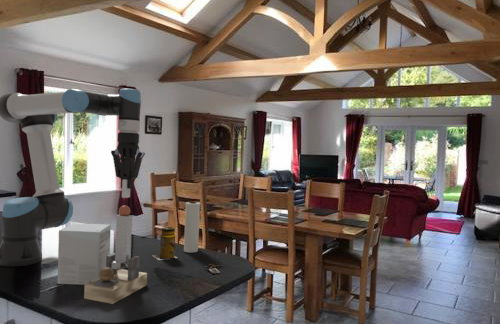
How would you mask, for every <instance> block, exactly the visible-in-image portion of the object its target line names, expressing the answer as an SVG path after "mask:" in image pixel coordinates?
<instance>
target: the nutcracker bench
mask: <svg viewBox="0 0 500 324" xmlns="http://www.w3.org/2000/svg"><path fill="white" fill-rule="evenodd" d="M113 261H115V252H113V253H111V254H110V255H108V256H106V267H105V268H103V269H102V270H101V271H100V279H97V280H95V281H93V282H91V283H88V284H86V285H83V286H84V293H83V298H84V300H91V301H95V302H100V303H106V304H111V305H113V304H115V303H117V302H119V301H121V300H123V299H124V298H126V297H128V296H130V295H132V294H133V293H136V292H137V291H139V290H140V289H142V288H144V287H146V286H147V285H148V273H147V272H142V271H140V256H138V255H135V256H132V257H131V258H130V259H128V267H127V269H125V268H124V269H121V270H118V269H112V262H113Z"/></svg>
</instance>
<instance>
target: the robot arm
mask: <svg viewBox="0 0 500 324" xmlns="http://www.w3.org/2000/svg"><path fill="white" fill-rule="evenodd" d="M141 95H142V94H141V91H140V90H138V89H134V88H120V90H119V93H118V94H105V93H101V92H94V91H87V90H82V89H78V88H69V89H67V90H66V91H59V92H57V91H56V92H48V93H35V94H24V93H23V94H22V93H20V92H12V93H11V92H10V93H5V94H3V95H1V96H0V118H2V119H3V120H5V121H6V122H8V123H12V124H13V123H14V124H20V127H21V131H22V132H24V133H25V134H26V137H27V144H28V150H29V157H30V163H31V170H32V175H33V182H34V188H35V193H34V194H33V195H32V196H24V197H17V198H13V199H12V198H11V199H9V200H6V202H4V204H3V207H2V213H1V216H2V224H1V225H2V227H1V228H2V229H1V231H2V233H1V236H2V237H1V243H0V266H1V267H10V268H11V267H12V268H13V267H25V266H30V265H31V266H32V265H34V264H37V263H38V264H39V263H40V262H42V260H43V253H42V250H41V247H40V244H39V241H38V232H39V231H42V230H47V229H53V228H58V227H62V226H64V225H66V224H67V223H69V222H70V220H71V218H72V217H73V213H74V205H73V202H72V200H70V198H69V197H66V196H65V191H64V190H62V189H61V188H60V186H59V179H58V171H57V166H56V160H55V155H54V154H55V153H54V148H53V143H52V136H51V135H52V134H51V131H52V129H53V128H54V124H55V123H56V121H57V118H58V115H59V114H60V115H61V114H78V113H80V114H81V113H84V114H93V115H96V116H104V117H105V116H118V119H117V120H118V124H117V131H118V132H117V146H116V148H115V149H114V150H111V151H110V154H111V155H112V160H113V165H114V173H115V176H116V177H117V178H119V179H120V189H121V198H122V199H123V198H125V199H128V198H131V189H132V188H133V181H134V179H137V178H138V177H139V173H140V169H141V165H142V161H143V158H144V156H145V155H146V153H145V152H144V151H141V150H140V147H139V144H140V134H139V132H140V131H141V130H140V126H141V119H140V117H141V108H142V107H141V106H142V101H141V99H142V96H141Z"/></svg>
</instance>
